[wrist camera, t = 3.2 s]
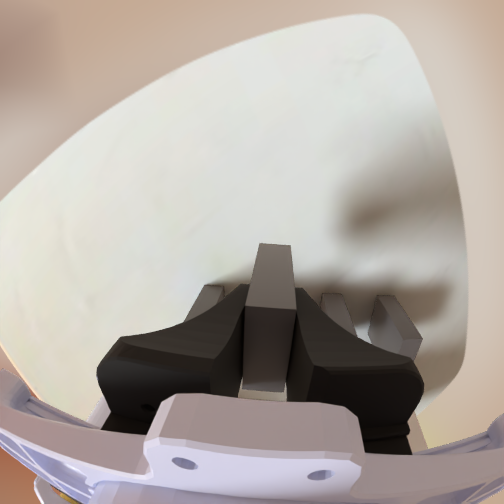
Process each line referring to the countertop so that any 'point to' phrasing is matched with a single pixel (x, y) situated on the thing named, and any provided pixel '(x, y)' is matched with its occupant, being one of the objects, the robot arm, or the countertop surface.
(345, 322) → the domino
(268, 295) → the domino
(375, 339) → the domino end
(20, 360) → the countertop surface
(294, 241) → the countertop surface
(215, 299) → the domino
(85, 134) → the countertop surface
